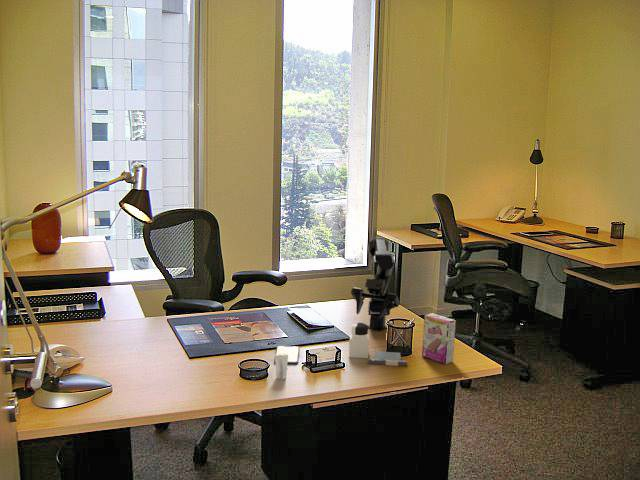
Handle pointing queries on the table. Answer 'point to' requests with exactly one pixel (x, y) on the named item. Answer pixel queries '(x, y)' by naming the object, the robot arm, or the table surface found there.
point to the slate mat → (387, 355)
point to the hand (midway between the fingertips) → (368, 315)
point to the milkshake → (281, 364)
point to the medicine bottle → (359, 341)
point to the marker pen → (387, 362)
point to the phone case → (290, 353)
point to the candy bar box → (438, 338)
